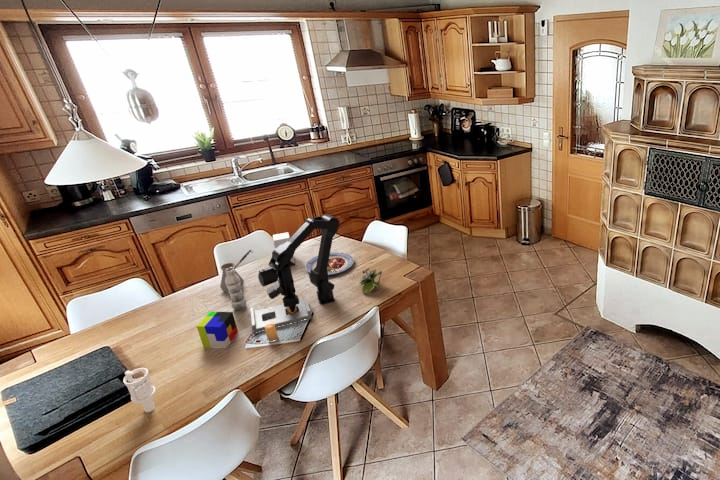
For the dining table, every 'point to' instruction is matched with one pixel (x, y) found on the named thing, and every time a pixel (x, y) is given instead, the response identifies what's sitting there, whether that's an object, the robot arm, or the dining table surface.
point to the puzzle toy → (217, 329)
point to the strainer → (140, 389)
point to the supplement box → (281, 240)
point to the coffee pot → (229, 265)
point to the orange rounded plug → (271, 332)
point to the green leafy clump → (370, 280)
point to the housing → (279, 315)
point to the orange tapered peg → (290, 311)
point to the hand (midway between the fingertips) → (292, 309)
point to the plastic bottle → (235, 289)
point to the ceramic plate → (332, 262)
